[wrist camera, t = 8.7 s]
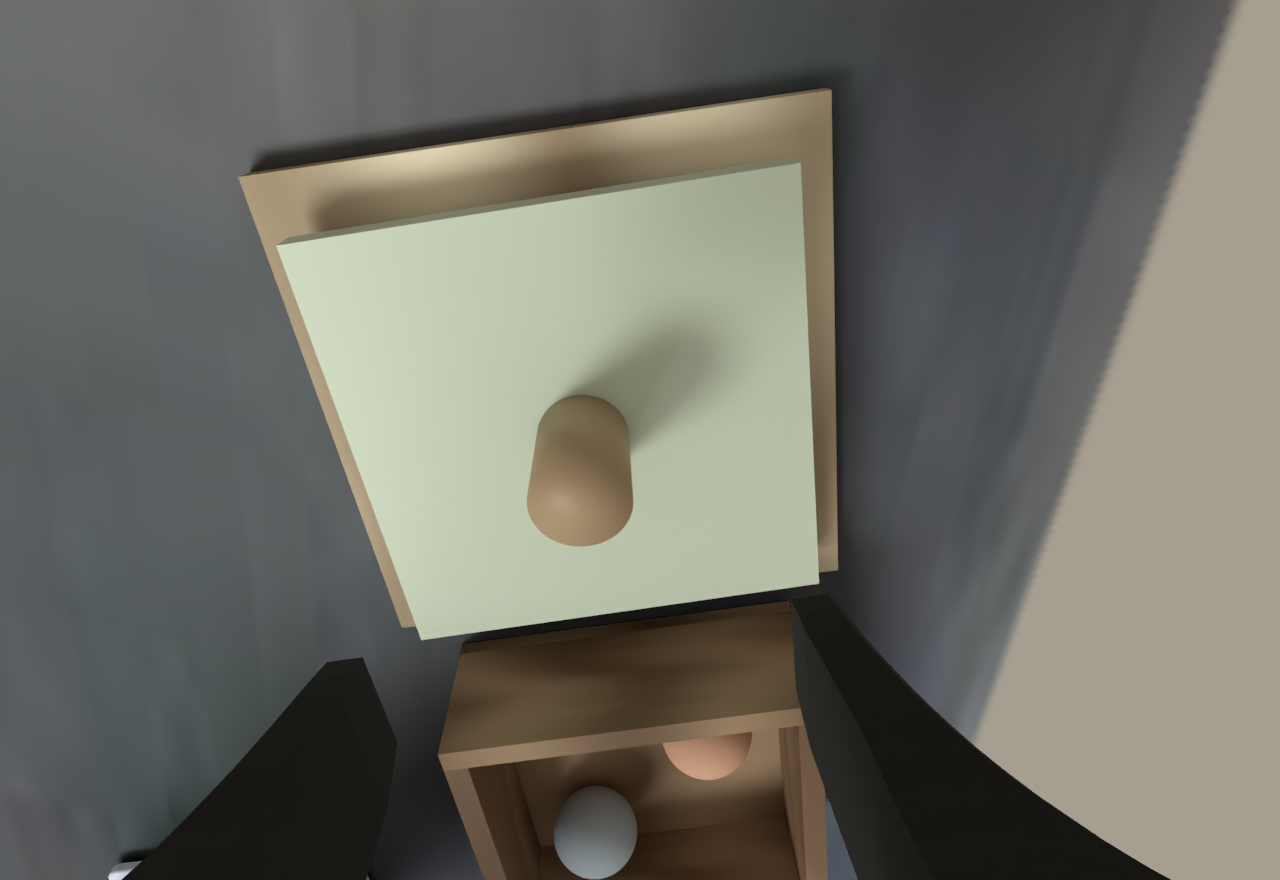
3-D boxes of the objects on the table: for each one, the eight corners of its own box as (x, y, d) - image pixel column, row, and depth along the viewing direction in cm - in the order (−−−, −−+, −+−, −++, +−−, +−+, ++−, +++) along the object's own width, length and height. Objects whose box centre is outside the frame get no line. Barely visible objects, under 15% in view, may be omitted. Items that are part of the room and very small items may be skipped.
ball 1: (563, 825, 30) (559, 902, 27) (548, 773, 29) (543, 849, 26) (640, 815, 30) (644, 892, 27) (629, 762, 29) (632, 838, 26)
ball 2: (663, 731, 28) (670, 805, 25) (652, 669, 26) (658, 742, 24) (747, 720, 28) (762, 794, 25) (740, 658, 26) (756, 729, 24)
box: (527, 848, 31) (517, 967, 27) (462, 643, 26) (437, 754, 22) (799, 813, 31) (829, 929, 27) (788, 600, 26) (822, 705, 22)
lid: (430, 609, 25) (396, 724, 21) (297, 231, 19) (214, 288, 15) (808, 554, 24) (849, 661, 20) (787, 153, 19) (839, 190, 15)
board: (406, 615, 26) (402, 628, 25) (248, 172, 19) (238, 177, 18) (833, 558, 25) (837, 570, 25) (825, 87, 19) (831, 89, 18)
